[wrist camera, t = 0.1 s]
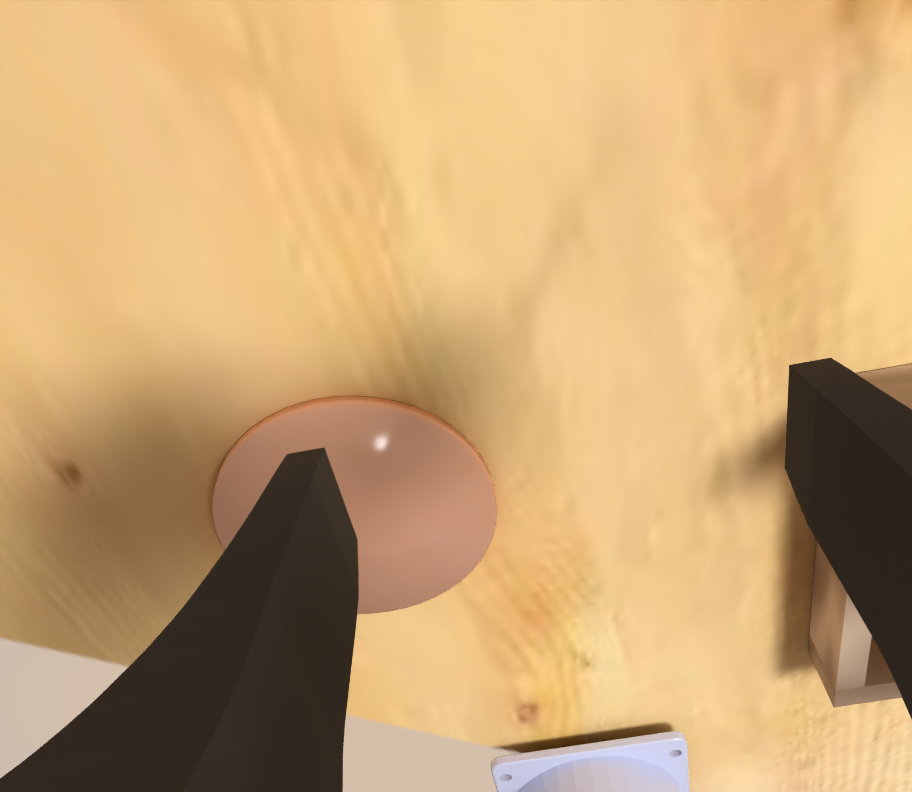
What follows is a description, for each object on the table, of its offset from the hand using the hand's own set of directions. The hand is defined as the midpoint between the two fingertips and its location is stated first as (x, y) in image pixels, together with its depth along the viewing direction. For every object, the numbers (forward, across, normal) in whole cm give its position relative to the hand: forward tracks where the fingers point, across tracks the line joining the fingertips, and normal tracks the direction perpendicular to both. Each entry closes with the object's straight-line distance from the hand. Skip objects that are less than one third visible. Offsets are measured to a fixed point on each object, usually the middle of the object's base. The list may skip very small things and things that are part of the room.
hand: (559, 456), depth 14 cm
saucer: (+10, +6, +10) cm, 16 cm away
